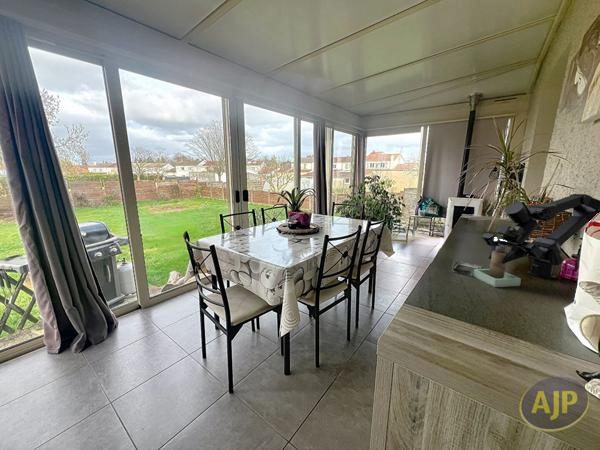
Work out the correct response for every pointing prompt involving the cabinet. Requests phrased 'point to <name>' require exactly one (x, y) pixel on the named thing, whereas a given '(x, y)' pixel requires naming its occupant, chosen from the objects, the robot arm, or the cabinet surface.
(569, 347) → the cabinet surface
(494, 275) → the pepper mill
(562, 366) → the cabinet surface
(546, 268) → the robot arm
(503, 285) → the tray
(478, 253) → the cabinet surface
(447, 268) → the cabinet surface
